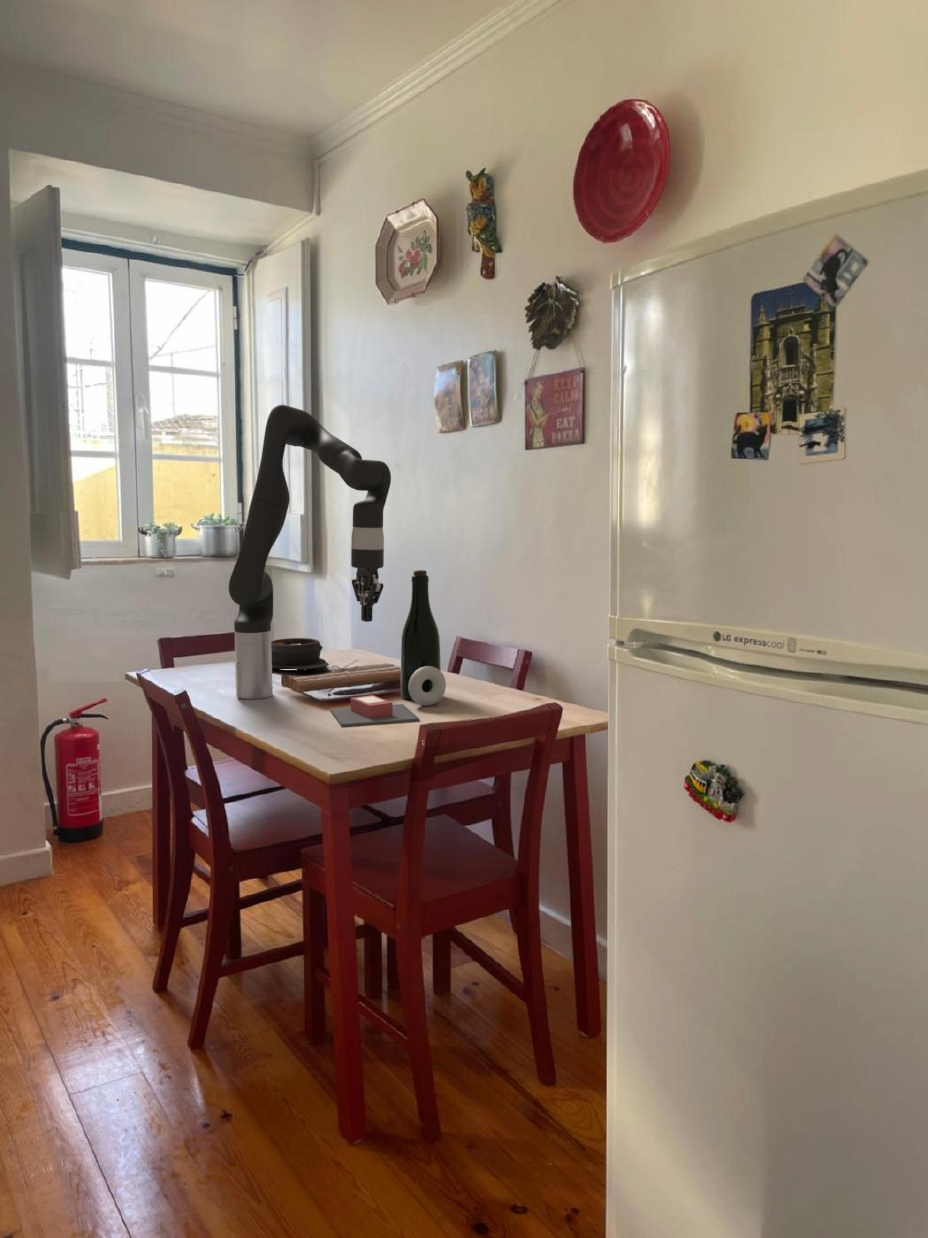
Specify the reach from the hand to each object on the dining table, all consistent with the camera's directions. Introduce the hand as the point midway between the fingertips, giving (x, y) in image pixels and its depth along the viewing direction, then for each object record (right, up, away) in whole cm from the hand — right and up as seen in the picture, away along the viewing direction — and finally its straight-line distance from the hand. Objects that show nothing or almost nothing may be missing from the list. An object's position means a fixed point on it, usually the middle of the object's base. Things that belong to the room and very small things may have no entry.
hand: (366, 621), depth 210 cm
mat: (+1, -22, +1) cm, 23 cm away
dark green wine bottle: (+12, -20, +22) cm, 32 cm away
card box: (+4, -21, -2) cm, 21 cm away
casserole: (-29, -15, +65) cm, 73 cm away
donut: (+14, -21, +13) cm, 28 cm away
